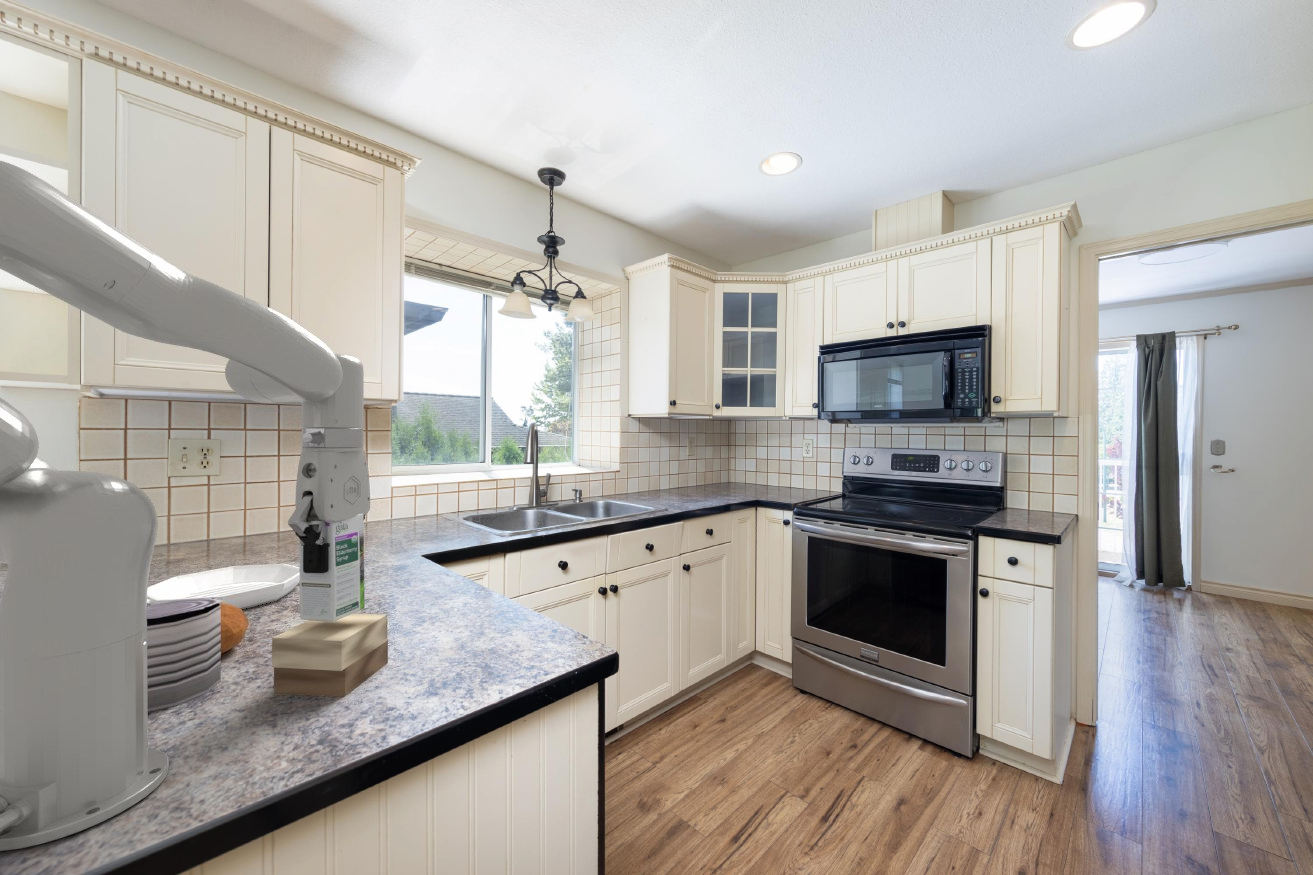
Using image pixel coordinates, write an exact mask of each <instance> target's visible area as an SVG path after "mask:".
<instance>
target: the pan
mask: <svg viewBox="0 0 1313 875" xmlns="http://www.w3.org/2000/svg"><path fill="white" fill-rule="evenodd" d="M299 584H300V565H299V563H297V564H293V565H291V564H288V563H287V564H286V563H269V564H267V563H266V564H250V565H249V564H247V565H232V566H227V567H222V568H215V569H210V570H204V571H199V572H194V573H188V574H181V575H177V576H173V577H170V578H168V579H165V580H162V581H160V582H157V583H155V584H153V585H150V586H148V589H147V605H148V606H149V605H155V604H160V603H166V602H171V601H178V600H190V599H202V598H216V599H219V600H223V601H222V602H219V603H226V604H229V605H233V606H236V607H237V608H239V609H241V610H242V609H243V610H246V608H247V609H251V608H255V607H258V605H259V606H263V605H266V603H267V604H270V602H271V603H273V602H274V601H275V602H277V601H278V600H280V599H282V598H283V597H286V595H288V594H289V593H291V592H292V591H294V590H295V589H296V587H297V585H299ZM262 604H263V605H262ZM243 610H242V611H243Z"/></svg>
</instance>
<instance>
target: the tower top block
mask: <svg viewBox="0 0 1313 875" xmlns="http://www.w3.org/2000/svg"><path fill="white" fill-rule="evenodd" d="M387 640H388V614H384V613H383V614H380V613H379V614H378V613H358V612H355V613H353V614H350V615H348V616H346V617H343V618H341V619H339V620H337V621H336V622H321V621H311V620H305V622H302V623H300V624H298V625H296V626H294V627H292V628H289V629H287V630H286V631H284V632H282V633H280V634H277V635H275V636H273V637H272V638H271V667H272V668H274V667H277V668H295V669H314V670H333V671H342V670H344V669H345V668H347V667H348V666H350V665H351V664H353V663H354V662H356V661H357V660H359V659H360V658H362V657H363V656H365V655H366V654H368V653H369V652H371V651H372V650H374V649H376V648H377V647H379V646H380V645H382V644H383V643H385V642H386V641H387Z"/></svg>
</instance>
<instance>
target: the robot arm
mask: <svg viewBox="0 0 1313 875" xmlns="http://www.w3.org/2000/svg"><path fill="white" fill-rule="evenodd" d="M0 270H2V271H4V272H5V273H8V274H9V275H12V276H13V277H15V278H18V279H20V280H22V281H23V282H25V283H27V284H29V285H31V286H34V287H36V288H37V289H39V290H41V291H43V292H45V293H47V294H48V295H50V296H53V297H55V298H56V299H59V300H60V301H63V302H64V303H67V304H69V305H71V306H73V307H75V308H76V309H78V310H80V311H81V312H84V313H85V314H88V315H90V316H91V317H93V318H95V319H97V320H99V321H100V322H101V321H102V322H104V323H105V324H107V325H109V326H110V327H113V328H114V329H116V330H119V331H121V332H123V333H125V334H128V335H131V336H134V337H138V338H142V339H145V340H149V341H153V342H157V343H161V344H166V345H171V346H172V345H173V346H176V347H177V346H178V347H184V348H190V349H195V350H199V351H203V352H207V353H209V354H210V353H211V354H212V355H213V354H214V355H217V356H220V357H223V358H226V359H228V361H227V363H226V365H225V368H224V370H225V371H224V375H225V380H226V382H227V384H228V385H229V387H230V389H232V390H233V391H234V392H235V393H236V394H237V395H238V396H240V397H242V398H244V399H246V400H249V401H252V402H256V403H259V404H260V403H262V404H287V403H300V404H301V452H300V456H299V460H298V466H297V467H298V468H297V475H296V483H295V509H294V511H293V513H292V515H290V517H289V519H288V521H287V524H288V526H289V527H290V528H291V529H292V530H293V532H294V534H295V536H297V537H298V540H299V539H300V544H302V545H303V572H304V573H326V572H328V543H324V542H325V539H326V535H327V532H328V523H337V522H341V521H345V520H347V519H350V518H353V517H355V516H356V515H358V514H360V513H363V516H364V521H365V519H366V515H367V514H368V513H369V512H370V510H371V492H370V491H371V489H370V475H369V474H370V473H369V467H368V464H369V463H368V459H367V456H366V450H364V412H365V411H364V409H365V408H364V403H365V400H364V399H365V398H364V396H365V395H364V392H365V389H364V385H365V384H364V382H365V380H364V379H365V378H364V373H365V372H364V365H363V363H362V361H361V360H360V359H359V358H357V357H354V356H352V355H346V354H341V353H334V351H333V350H332V349H331V348H330V347H328V345H327V344H326V343H324V342H323V341H322V340H320V339H319V338H318V337H316V336H315V335H314V334H312V333H311V332H309V331H308V330H307V329H305V328H303V327H302V326H300V325H299V324H298V323H297V322H296V321H293V320H292V319H290V318H289V317H287V316H285V315H284V314H282V313H281V312H278V311H276V310H274V308H271V307H269V306H266V305H264V304H263V303H260V302H258V301H255V300H253V299H251V298H248V297H246V296H243V295H241V294H238V293H236V292H235V291H234V292H233V291H231V290H229V289H228V288H227V289H226V288H224V287H223V286H220V285H218V284H215V283H213V282H211V281H209V280H205V279H202V278H200V277H197V276H195V275H192V274H190V273H188V272H186V271H184V270H182V269H181V268H179V267H178V266H175V264H173V263H171V262H170V261H168V260H167V259H165V258H163V257H162V256H160V255H159V254H157V253H156V252H154V251H152V250H151V249H149V248H147V247H146V246H144V245H143V244H141V243H140V242H138V240H135V239H134V238H132V237H131V236H129V235H128V234H126V233H124V232H123V231H121V230H120V229H119V228H118V227H116V226H114V225H112V224H111V223H109V221H107V220H105V219H103V217H101V216H99V215H97V214H96V213H94V212H93V211H91V210H90V209H89V208H87V207H85V205H84V206H83V205H82V204H80V203H79V202H78V201H76V200H74V199H73V198H71V197H70V196H68V195H67V194H65V193H64V192H62V191H61V190H59V189H58V188H56V187H54V186H53V185H51V184H50V183H49V182H46V181H45V180H44V179H42V178H40V177H38V176H36V175H34V174H33V173H31V172H30V171H28V170H26V169H24V168H21V167H20V166H17V165H15V164H12V163H10V162H7V161H4V160H0ZM39 445H40V444H39V436H38V435H37V431H36V430H35V427H34V426H33V424H32V423H31V422H30V420H29V419H28V418H27V417H26V416H25V414H24V413H22V412H21V411H20V410H18V409H17V408H15V406H13V405H12V404H10V403H9V402H8V401H6V400H5V399H3V398H2V397H0V564H2V565H3V564H4V565H7V571H6V577H5V582H4V585H3V589H2V592H1V595H0V596H1V597H0V852H3V851H5V852H6V851H11V850H19V849H25V848H29V847H34V846H38V845H42V844H46V843H50V842H52V841H55V840H59V839H62V838H66V837H68V836H71V835H73V834H77V833H79V832H82V831H84V830H87V829H89V828H91V827H93V826H96V825H99V824H101V823H102V822H104V821H107V820H109V819H111V818H113V817H114V816H117V815H119V814H120V813H122V812H124V811H125V810H127V809H129V808H131V807H133V806H135V805H136V804H137V803H139V802H140V801H142V800H143V799H145V798H146V797H147V796H148V795H150V794H151V793H152V792H153V791H154V790H156V789H157V788H158V787H159V786H160V785H161V783H162V782H164V780H165V779H166V777H167V775H168V773H169V767H170V761H169V756H168V755H167V754H166V753H165V752H164V751H161V750H159V749H155V748H154V749H153V748H149V738H148V736H149V731H148V730H149V728H148V727H149V719H148V717H149V715H148V713H149V712H148V679H147V606H148V604H147V589H148V587H149V585H148V584H149V578H150V577H149V574H150V569H151V563H152V560H153V555H154V550H155V546H156V541H157V537H158V536H157V535H158V514H157V512H156V508H155V506H154V504H153V502H152V500H151V499H150V497H149V496H148V494H147V493H145V492H144V491H143V490H142V489H141V488H140V487H139V486H137V485H135V483H132V482H130V481H129V480H126V479H124V478H121V477H119V476H115V475H112V474H109V473H101V472H95V471H83V470H82V471H81V470H59V469H56V468H55V467H53V466H52V465H50V464H49V463H47V462H46V461H44V460H43V459H41V458H40V457H39V456H38V453H39V448H40V447H39ZM314 517H318V518H319V520H322V521H319V520H313V519H314ZM313 526H319V529H318V533H317V532H316V531H315V530H314V529H313Z"/></svg>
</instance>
